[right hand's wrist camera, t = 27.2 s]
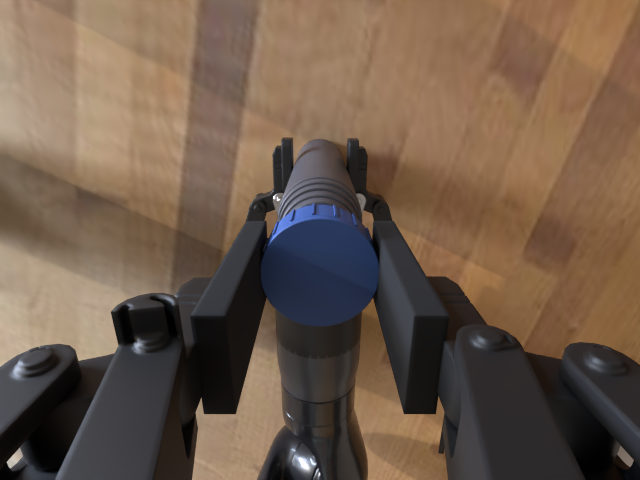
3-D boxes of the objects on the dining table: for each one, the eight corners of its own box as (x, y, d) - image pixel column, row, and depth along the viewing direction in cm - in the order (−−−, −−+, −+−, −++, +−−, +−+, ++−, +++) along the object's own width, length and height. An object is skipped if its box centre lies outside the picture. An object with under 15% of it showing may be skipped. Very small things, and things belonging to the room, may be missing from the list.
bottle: (337, 134, 34) (367, 197, 13) (346, 179, 35) (386, 304, 14) (292, 144, 34) (247, 223, 13) (303, 188, 36) (278, 325, 14)
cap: (256, 208, 14) (247, 223, 12) (371, 196, 14) (378, 210, 12) (274, 307, 15) (268, 332, 14) (377, 297, 15) (384, 321, 13)
